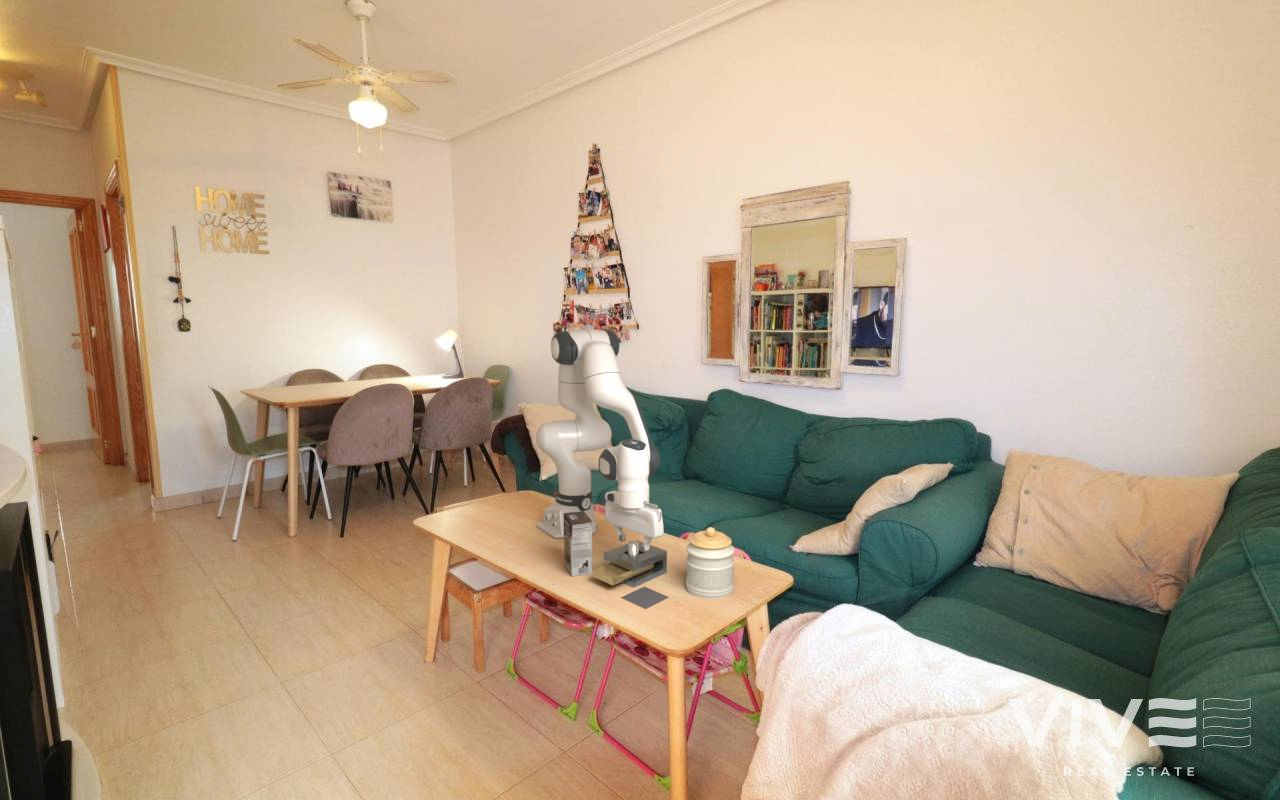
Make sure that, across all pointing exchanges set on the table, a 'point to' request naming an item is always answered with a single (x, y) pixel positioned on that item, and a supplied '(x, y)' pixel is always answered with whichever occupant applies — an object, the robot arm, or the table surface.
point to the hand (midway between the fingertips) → (633, 544)
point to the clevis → (632, 566)
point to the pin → (633, 548)
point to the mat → (644, 597)
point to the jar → (710, 565)
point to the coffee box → (578, 543)
